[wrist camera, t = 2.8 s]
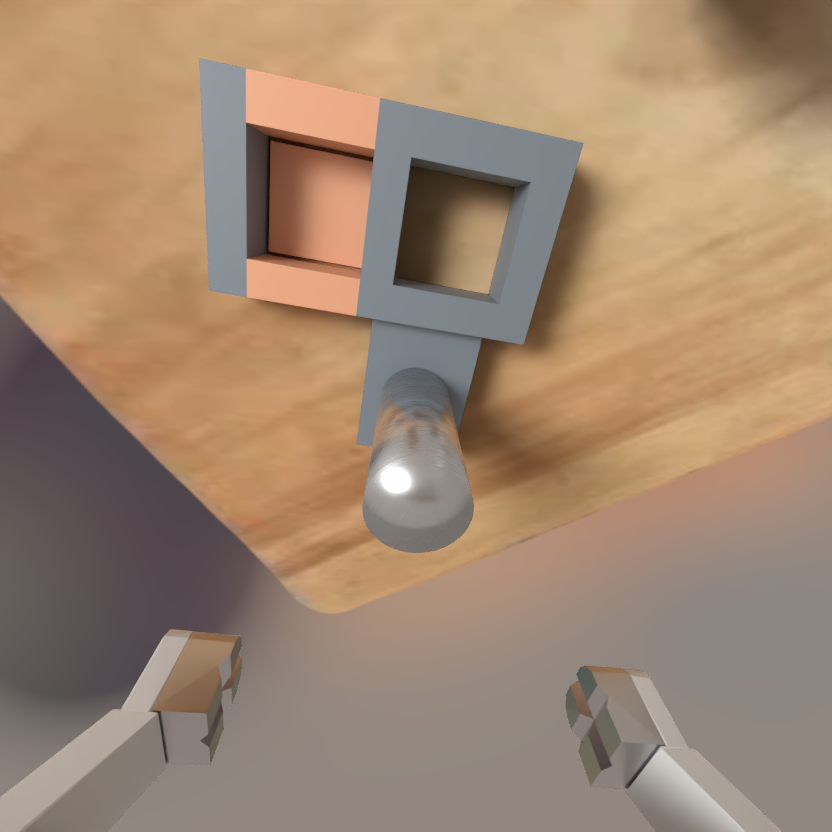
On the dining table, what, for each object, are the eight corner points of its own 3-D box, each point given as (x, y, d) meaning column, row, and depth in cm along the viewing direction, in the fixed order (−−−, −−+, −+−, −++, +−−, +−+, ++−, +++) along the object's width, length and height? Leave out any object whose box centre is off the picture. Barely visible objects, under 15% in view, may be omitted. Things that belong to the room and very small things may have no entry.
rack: (559, 153, 20) (583, 143, 17) (478, 446, 27) (485, 471, 25) (229, 81, 19) (199, 58, 16) (235, 410, 26) (215, 433, 23)
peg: (455, 373, 23) (485, 472, 14) (441, 434, 25) (460, 558, 16) (385, 362, 23) (370, 456, 14) (375, 425, 24) (356, 545, 15)
